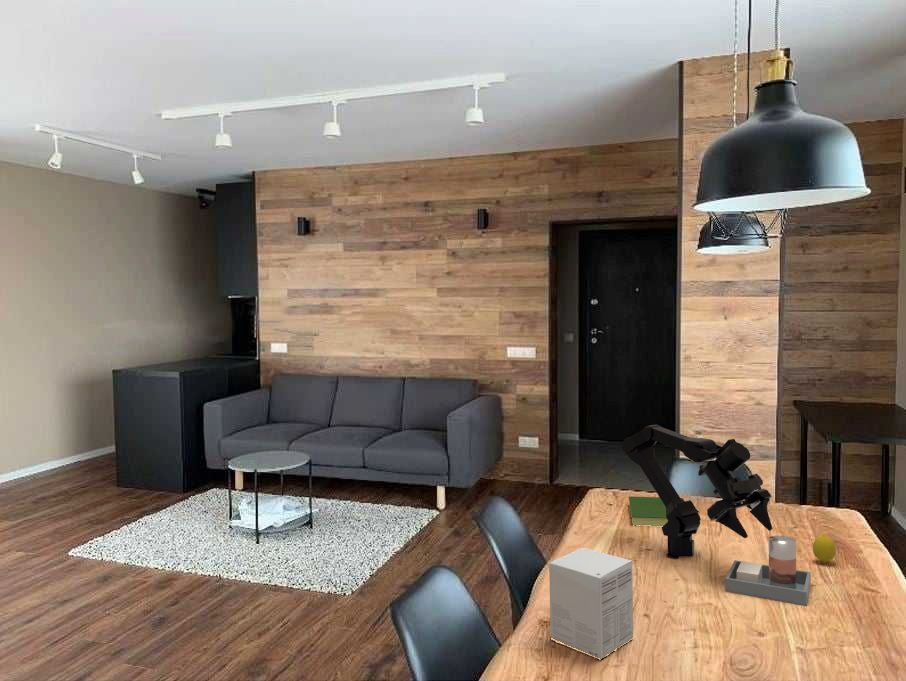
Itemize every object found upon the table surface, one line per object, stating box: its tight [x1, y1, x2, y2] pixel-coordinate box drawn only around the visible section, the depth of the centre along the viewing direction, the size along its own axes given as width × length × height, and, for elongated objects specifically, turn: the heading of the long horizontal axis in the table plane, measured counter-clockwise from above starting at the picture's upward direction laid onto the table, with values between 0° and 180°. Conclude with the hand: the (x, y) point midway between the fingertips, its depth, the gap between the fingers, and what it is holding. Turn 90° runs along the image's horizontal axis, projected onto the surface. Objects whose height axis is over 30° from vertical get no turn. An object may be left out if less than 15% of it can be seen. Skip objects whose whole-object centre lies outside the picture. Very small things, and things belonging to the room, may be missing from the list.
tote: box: [724, 560, 812, 606], centre depth 174 cm, size 18×14×4 cm
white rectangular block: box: [737, 560, 763, 583], centre depth 177 cm, size 5×8×4 cm, turn 149°
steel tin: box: [768, 535, 797, 589], centre depth 171 cm, size 6×6×13 cm
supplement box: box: [548, 547, 634, 659], centre depth 151 cm, size 13×13×18 cm
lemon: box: [812, 534, 837, 564], centre depth 192 cm, size 6×6×8 cm
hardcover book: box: [628, 495, 685, 526], centre depth 238 cm, size 25×19×4 cm
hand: (758, 533), depth 177 cm, fingers open, 9 cm apart
